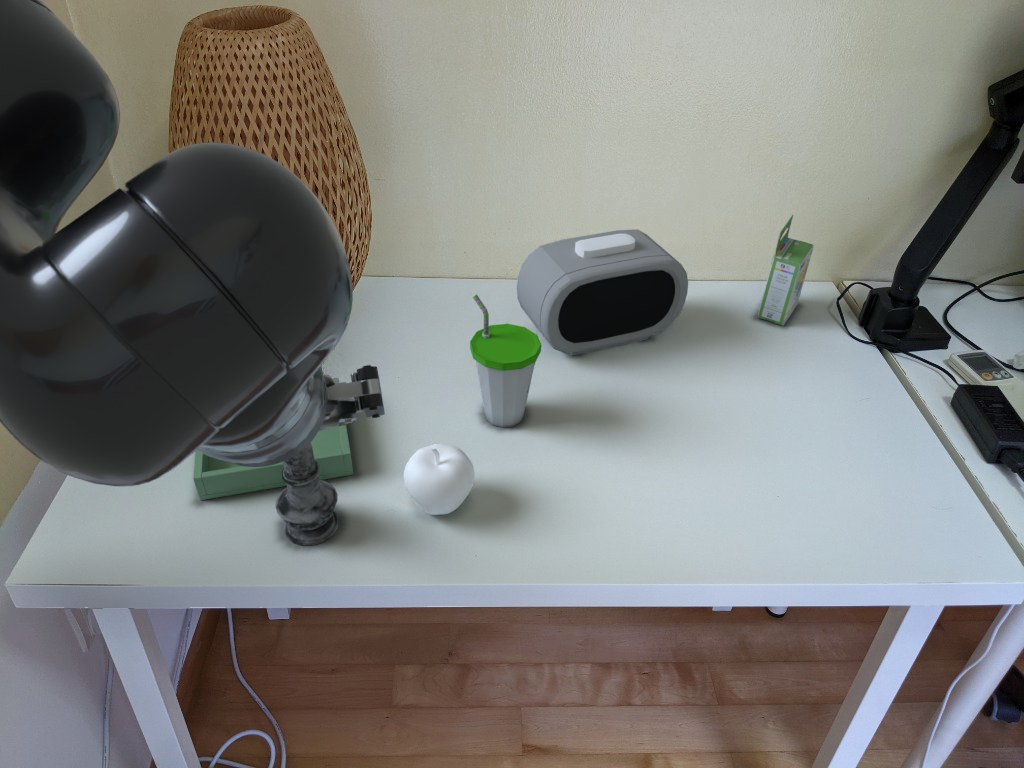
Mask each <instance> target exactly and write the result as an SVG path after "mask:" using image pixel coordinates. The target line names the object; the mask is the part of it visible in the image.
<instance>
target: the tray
mask: <svg viewBox="0 0 1024 768" xmlns="http://www.w3.org/2000/svg"><path fill="white" fill-rule="evenodd" d="M332 379H333V381H334V382H335V383H340V378H339V377H334V378H333V377H332ZM310 443H311V445H312V448H313V454H314V459H315V461H316V462H317V463H318V464H319V465H320V474H319V476H318V477H319V480H323V481H325V480H330V479H336V478H341V477H348V476H352V475H353V476H354V470H353V469H354V468H353V467H354V466H353V460H352V454H351V453H352V452H351V448H350V447H351V445H350V441H349V434H348V429H347V425H343V426H337V427H334V428H330V429H326V430H321V431H318V433H317V434H316V436H315V437H314V439H313V440H312V441H311V442H310ZM283 468H284V466H283V462H281V463H278V464H274V465H270V466H264V467H246V466H240V465H236V464H232V463H229V462H226V461H222V460H219V459H216V458H213V457H210V456H207V455H205V454H203V453H201V452H199V451H197V450H196V451H195V452H194V465H193V478H192V480H193V483H194V485H195V489H196V492H197V496H198V498H199V501H204V500H211V499H215V498H216V499H217V498H223V497H229V496H233V495H240V494H247V493H253V492H258V491H264V490H269V489H270V490H271V489H276V488H281V487H282V488H283V487H287V484H286V483H285V482H284V481H283V480H282V477H281V472H282V470H283Z"/></svg>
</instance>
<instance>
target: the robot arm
mask: <svg viewBox="0 0 1024 768" xmlns="http://www.w3.org/2000/svg"><path fill="white" fill-rule="evenodd" d="M120 122H121V109H120V102H119V99H118V95H117V93H116V88H115V87H114V85H113V83H112V80H111V79H110V77H109V75H108V73H106V71H105V70H104V69H103V66H102V65H101V64H100V62H98V60H97V59H96V57H95V56H94V54H93V53H91V51H90V50H89V49H88V48H87V47H86V46H85V44H83V42H82V41H81V40H80V39H79V38H78V37H77V36H76V35H75V34H74V33H73V32H72V31H71V30H70V29H69V28H68V27H67V26H66V24H65V23H63V21H62V20H61V19H60V18H59V17H58V16H56V14H55V13H54V12H53V11H52V10H51V9H50V8H49V7H48V6H47V5H46V4H45V3H44V2H43V1H42V0H0V424H1V425H2V426H3V427H4V429H5V430H6V431H7V433H8V434H10V436H12V438H13V439H14V440H15V441H17V442H18V443H19V444H20V445H21V447H22V448H24V449H25V450H26V451H27V452H29V453H30V454H31V455H33V456H34V457H35V458H36V459H37V460H40V462H42V463H44V464H45V465H47V466H49V467H51V468H52V469H54V470H56V471H58V472H60V473H62V474H65V475H66V476H69V477H71V478H74V479H77V480H81V481H84V482H87V483H91V484H94V485H101V486H109V487H115V488H116V487H119V488H123V487H124V488H126V487H136V486H141V485H144V484H147V483H151V482H153V481H156V480H158V479H160V478H162V477H164V476H165V475H166V474H168V473H170V472H171V471H173V470H174V469H176V468H177V467H179V466H180V465H181V464H182V463H184V462H185V461H186V460H187V459H188V458H189V457H190V456H192V455H193V454H195V451H196V450H197V451H199V452H201V453H203V454H205V455H207V456H210V457H213V458H216V459H219V460H222V461H226V462H229V463H232V464H236V465H240V466H246V467H264V466H270V465H274V464H278V463H281V462H283V461H286V460H288V459H290V458H292V457H293V456H295V455H296V454H298V453H299V452H301V451H302V450H303V449H304V448H305V447H306V446H307V445H308V444H309V443H310V442H311V441H312V440H313V439H314V437H315V436H316V434H317V433H318V431H321V430H326V429H330V428H334V427H337V426H343V425H346V426H347V425H348V424H351V423H353V421H357V420H358V415H357V413H362V412H364V414H365V416H366V418H372V419H377V418H380V417H381V416H384V415H385V414H386V413H385V407H384V405H385V404H384V400H383V393H382V387H381V380H380V375H379V371H378V366H377V365H376V366H374V365H373V366H372V365H371V364H366V365H363V366H362V367H360V368H357V369H356V372H355V371H354V372H351V373H350V379H351V382H347V381H343V382H339V383H335V382H334V381H333V377H332V376H331V375H330V374H326V373H324V371H323V366H322V365H324V363H325V361H326V360H327V359H328V357H329V356H330V355H331V353H332V352H333V351H334V349H335V348H336V346H337V345H338V343H339V342H340V340H342V339H341V338H342V337H343V336H344V333H345V331H346V330H347V327H348V325H349V320H350V318H351V317H350V316H351V313H352V309H353V297H354V290H353V278H352V272H351V267H350V263H349V258H348V254H347V252H346V249H345V246H344V243H343V241H342V238H341V236H340V233H339V231H338V228H337V227H336V225H335V223H334V221H333V220H332V217H331V216H330V214H329V212H328V211H327V210H326V208H325V207H324V205H323V204H322V202H321V200H320V199H319V198H318V197H317V195H316V194H315V193H314V192H313V191H312V189H311V188H310V187H309V186H308V185H307V184H306V183H305V182H304V181H303V180H302V179H301V178H300V177H298V176H297V175H296V174H295V173H294V172H293V171H291V170H290V169H289V168H287V167H286V166H284V165H283V164H281V163H280V162H278V161H277V160H275V159H273V158H272V157H270V156H269V155H267V154H264V153H262V152H260V151H258V150H256V149H253V148H249V147H246V146H242V145H238V144H234V143H227V142H216V141H215V142H214V141H212V142H210V141H209V142H199V143H194V144H189V145H186V146H183V147H180V148H177V149H175V150H173V151H171V152H169V153H167V154H164V155H163V156H162V157H160V158H159V159H157V160H156V161H154V162H152V163H151V164H149V165H148V166H147V167H145V168H144V169H143V170H141V171H140V172H138V173H137V174H135V175H134V176H133V177H131V178H130V179H129V180H127V181H126V182H124V188H121V187H119V188H117V189H116V190H114V191H112V193H110V194H109V195H107V196H106V197H105V198H103V199H101V200H100V201H99V202H97V203H96V204H94V205H93V206H92V207H90V208H89V209H88V210H86V211H84V213H82V214H81V215H78V217H77V218H75V219H73V221H70V222H69V223H68V224H67V225H65V226H64V227H63V228H61V229H59V230H58V228H59V226H60V223H61V222H62V220H63V219H64V218H65V215H66V214H67V213H68V211H69V210H70V208H71V207H72V205H73V204H74V203H75V202H76V200H77V199H78V198H79V197H80V195H82V193H83V192H84V190H85V189H86V188H87V186H88V185H89V184H90V183H91V181H92V180H93V179H94V178H95V176H96V175H97V173H98V172H99V171H100V170H101V168H102V167H103V166H104V164H105V162H106V160H107V159H108V157H109V155H110V153H111V151H112V149H113V147H114V145H115V143H116V140H117V137H118V134H119V130H120Z"/></svg>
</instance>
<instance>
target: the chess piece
mask: <svg viewBox="0 0 1024 768" xmlns="http://www.w3.org/2000/svg"><path fill="white" fill-rule="evenodd" d="M283 466H284V468H283V470H282V472H281V477H282V480H283V481H284V482H285V483H286V484H287V486H285V488H283V489H282V490H281V491H280V493H278V495H277V497H276V500H275V505H274V507H275V510H276V513H277V515H278V517H280V518H281V519H282V520H283V521H284V522H285V523H284V527H283V532H284V534H285V537H286V538H287V539H288V541H290V542H291V543H293V544H295V545H298V546H305V547H309V546H316V545H319V544H323V543H324V542H326V541H327V540H329V539H330V538H331V537H333V536H334V534H335V533H336V532H337V530H338V527H339V517H338V514H337V513H336V512H335V508H336V506H337V504H338V503H337V502H338V492H337V490H336V488H335V487H334V486H333V485H332V484H331V483H329V482H328V481H326V480H319V477H318V476H319V474H320V465H319V464H318V463H317V462H316V461H315V459H314V454H313V448H312V445H311V443H309V444H308V445H307V446H306V447H305V448H304V449H303V450H302V451H301V452H299V453H298V454H296V455H295V456H293V457H292V458H290V459H288V460H286V461H283Z"/></svg>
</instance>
